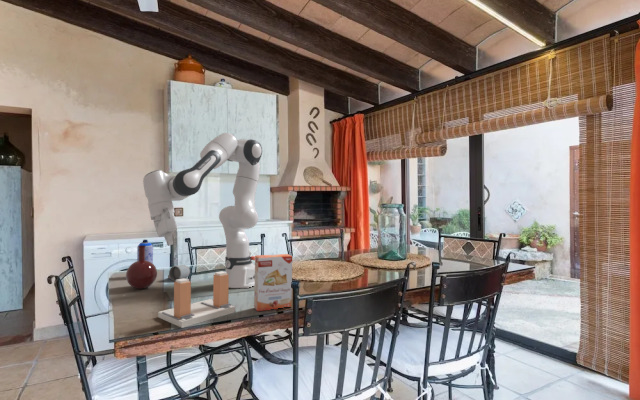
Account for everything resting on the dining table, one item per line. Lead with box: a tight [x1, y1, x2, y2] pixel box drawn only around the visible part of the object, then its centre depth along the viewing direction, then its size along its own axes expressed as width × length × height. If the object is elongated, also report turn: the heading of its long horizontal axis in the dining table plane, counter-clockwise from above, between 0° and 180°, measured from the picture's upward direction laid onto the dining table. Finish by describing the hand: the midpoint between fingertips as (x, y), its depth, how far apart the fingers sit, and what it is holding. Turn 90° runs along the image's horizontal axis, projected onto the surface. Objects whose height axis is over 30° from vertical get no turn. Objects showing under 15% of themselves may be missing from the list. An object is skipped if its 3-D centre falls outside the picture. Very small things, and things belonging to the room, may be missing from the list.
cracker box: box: [253, 253, 293, 312], centre depth 145 cm, size 14×6×21 cm, turn 114°
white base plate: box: [157, 298, 236, 329], centre depth 136 cm, size 22×16×3 cm
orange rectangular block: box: [173, 278, 192, 319], centre depth 127 cm, size 4×4×13 cm
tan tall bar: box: [212, 270, 230, 308], centre depth 140 cm, size 4×4×13 cm
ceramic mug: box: [167, 264, 191, 282], centre depth 192 cm, size 11×8×8 cm
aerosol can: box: [136, 239, 154, 264], centre depth 195 cm, size 8×8×20 cm
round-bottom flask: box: [125, 245, 158, 290], centre depth 172 cm, size 13×13×20 cm
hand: (170, 245), depth 143 cm, fingers closed
